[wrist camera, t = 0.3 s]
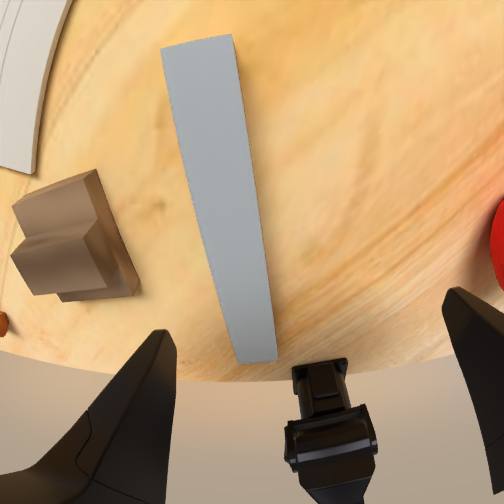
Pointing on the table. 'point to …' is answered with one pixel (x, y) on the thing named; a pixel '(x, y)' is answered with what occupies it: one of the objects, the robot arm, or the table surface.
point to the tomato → (498, 244)
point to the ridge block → (72, 242)
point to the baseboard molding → (25, 74)
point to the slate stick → (223, 187)
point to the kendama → (3, 324)
